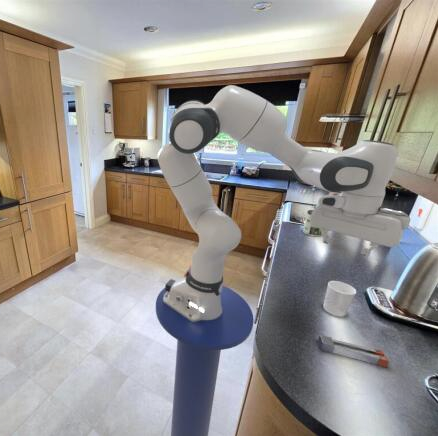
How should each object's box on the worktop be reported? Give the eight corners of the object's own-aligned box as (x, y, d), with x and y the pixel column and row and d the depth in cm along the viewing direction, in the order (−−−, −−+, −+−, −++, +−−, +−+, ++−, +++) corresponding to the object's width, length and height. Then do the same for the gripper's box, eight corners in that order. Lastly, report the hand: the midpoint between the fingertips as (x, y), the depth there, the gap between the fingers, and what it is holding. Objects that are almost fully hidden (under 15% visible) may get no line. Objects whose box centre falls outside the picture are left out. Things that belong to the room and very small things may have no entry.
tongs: (379, 356, 70) (383, 349, 69) (386, 367, 67) (389, 360, 66) (317, 341, 75) (319, 334, 74) (320, 350, 72) (323, 343, 71)
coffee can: (324, 234, 154) (330, 213, 149) (316, 237, 149) (322, 216, 144) (307, 228, 162) (312, 208, 157) (299, 232, 157) (304, 211, 152)
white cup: (337, 320, 83) (345, 296, 80) (316, 305, 90) (322, 283, 87) (353, 315, 86) (362, 291, 82) (331, 301, 93) (338, 279, 89)
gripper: (416, 211, 59) (396, 260, 64) (322, 194, 75) (311, 234, 80) (410, 215, 56) (389, 267, 61) (313, 196, 72) (302, 239, 76)
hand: (344, 248), depth 70 cm, fingers open, 8 cm apart
